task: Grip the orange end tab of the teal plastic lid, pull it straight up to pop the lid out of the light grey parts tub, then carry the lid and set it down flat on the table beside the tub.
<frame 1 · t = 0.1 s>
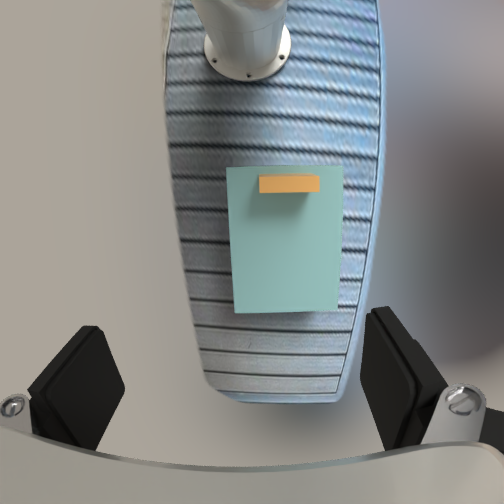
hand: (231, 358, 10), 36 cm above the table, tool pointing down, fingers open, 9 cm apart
lid: (285, 237, 39), point 6 cm above the table, touching tub
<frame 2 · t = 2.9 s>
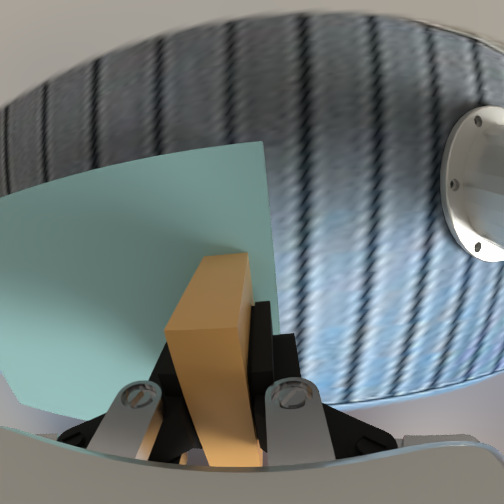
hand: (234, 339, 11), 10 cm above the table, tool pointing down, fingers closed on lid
lid: (101, 304, 15), point 6 cm above the table, touching gripper, tub
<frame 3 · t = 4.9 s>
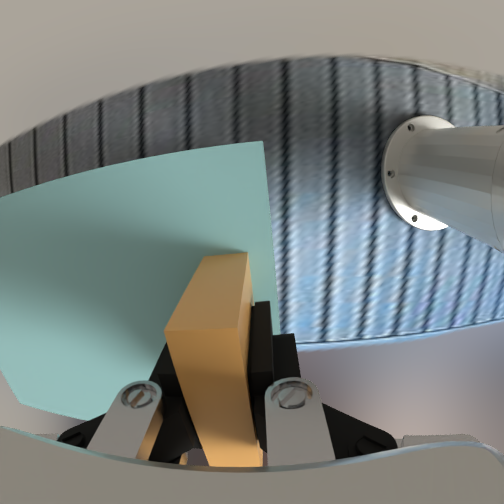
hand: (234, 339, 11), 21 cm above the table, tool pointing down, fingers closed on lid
lid: (101, 304, 15), point 17 cm above the table, touching gripper
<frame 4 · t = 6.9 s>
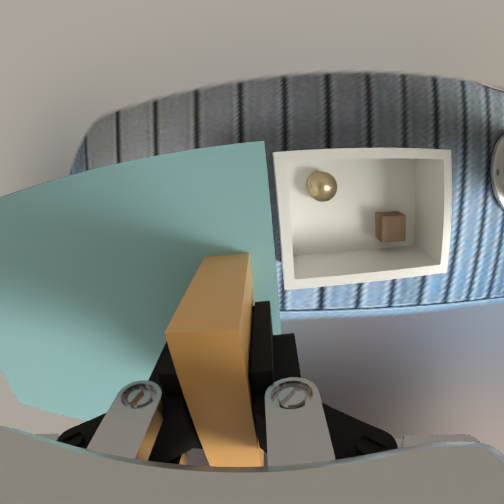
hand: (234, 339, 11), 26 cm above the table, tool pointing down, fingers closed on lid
brass ball: (320, 185, 33), point 1 cm above the table, touching tub
walnut block: (386, 223, 34), point 1 cm above the table, touching tub
tub: (352, 203, 35), on the table
lid: (101, 304, 15), point 22 cm above the table, touching gripper
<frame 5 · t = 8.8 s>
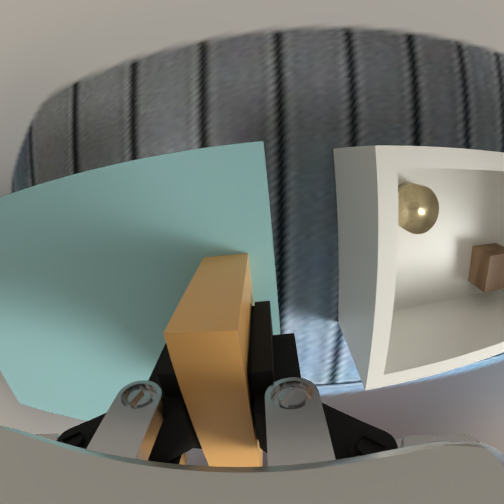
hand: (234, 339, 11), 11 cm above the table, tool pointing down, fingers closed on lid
brass ball: (407, 205, 19), point 1 cm above the table, touching tub
walnut block: (482, 261, 20), point 1 cm above the table, touching tub
tub: (444, 232, 21), on the table
lid: (100, 304, 15), point 7 cm above the table, touching gripper
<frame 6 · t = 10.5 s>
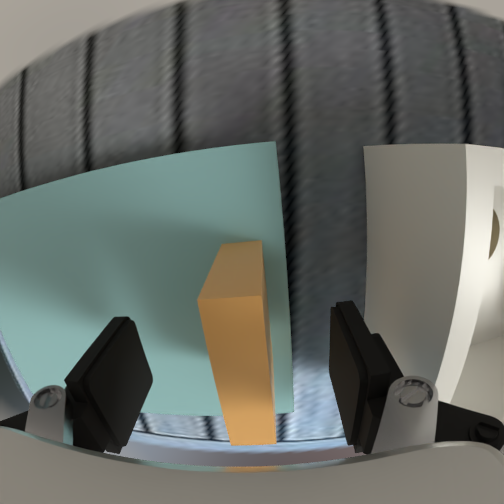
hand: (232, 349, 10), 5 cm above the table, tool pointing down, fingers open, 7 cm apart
brass ball: (458, 226, 13), point 1 cm above the table, touching tub
tub: (492, 258, 14), on the table
lid: (118, 292, 16), on the table
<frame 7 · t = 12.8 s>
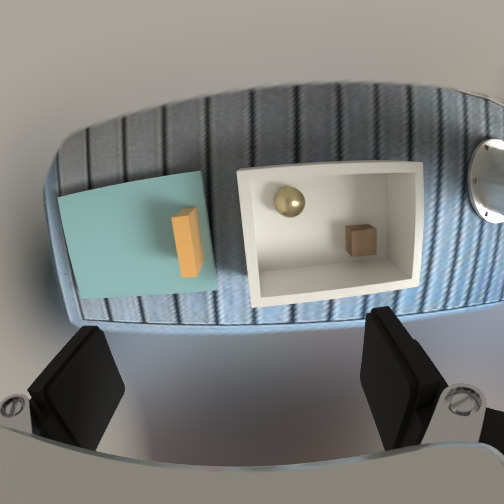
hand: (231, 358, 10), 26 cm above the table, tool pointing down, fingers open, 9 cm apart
brass ball: (288, 200, 34), point 1 cm above the table, touching tub
walnut block: (357, 237, 35), point 1 cm above the table, touching tub
tub: (322, 217, 35), on the table
lid: (138, 236, 36), on the table
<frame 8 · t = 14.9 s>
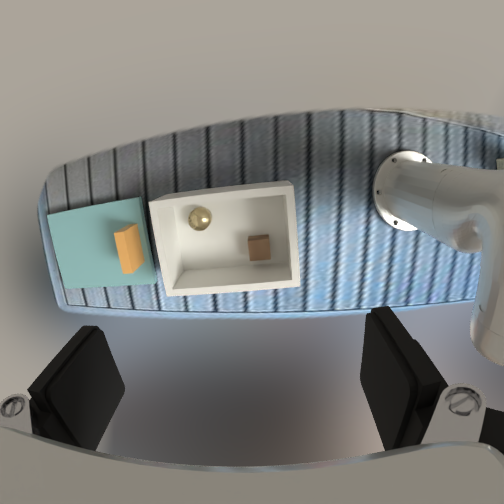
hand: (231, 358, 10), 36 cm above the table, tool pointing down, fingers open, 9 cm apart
brass ball: (201, 217, 44), point 1 cm above the table, touching tub
walnut block: (259, 245, 45), point 1 cm above the table, touching tub
tub: (231, 229, 46), on the table
lid: (103, 243, 48), on the table
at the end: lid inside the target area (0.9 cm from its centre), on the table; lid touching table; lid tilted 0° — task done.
